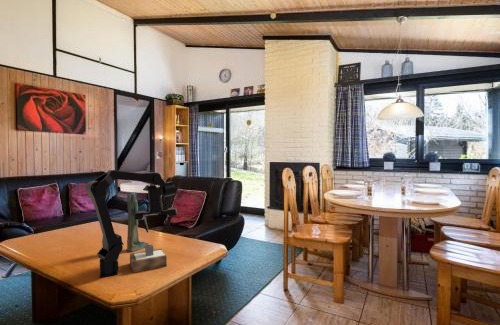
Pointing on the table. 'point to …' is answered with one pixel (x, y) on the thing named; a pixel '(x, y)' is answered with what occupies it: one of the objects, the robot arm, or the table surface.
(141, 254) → the cover
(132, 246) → the statue
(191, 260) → the table surface
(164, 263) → the box
